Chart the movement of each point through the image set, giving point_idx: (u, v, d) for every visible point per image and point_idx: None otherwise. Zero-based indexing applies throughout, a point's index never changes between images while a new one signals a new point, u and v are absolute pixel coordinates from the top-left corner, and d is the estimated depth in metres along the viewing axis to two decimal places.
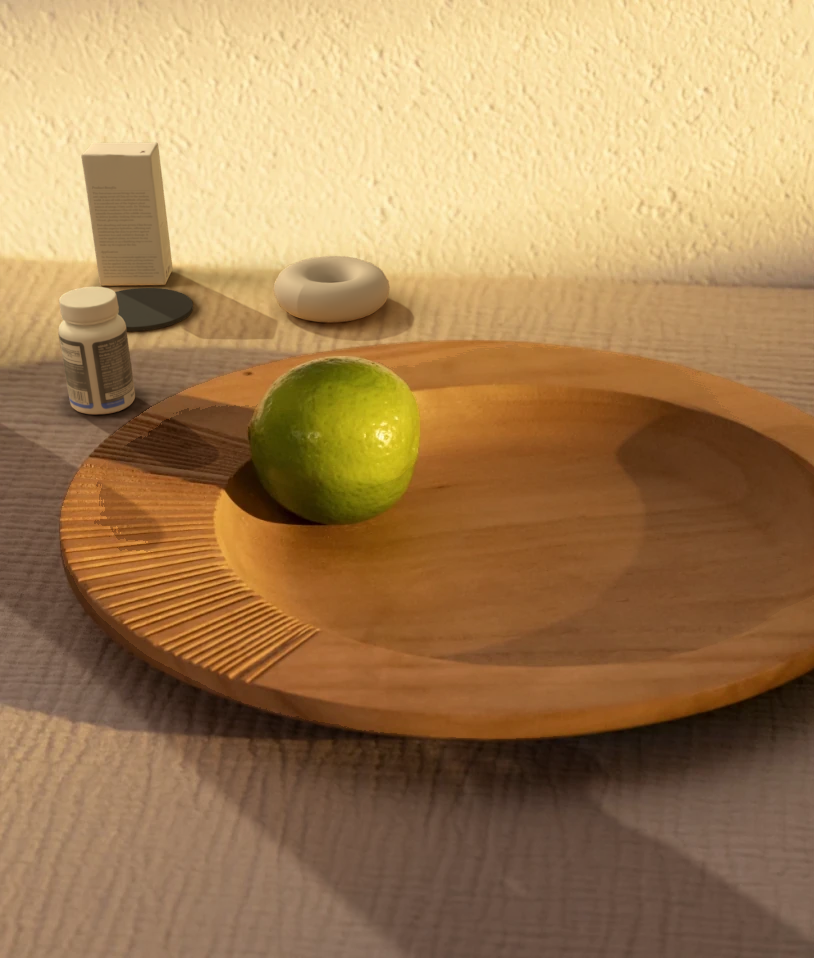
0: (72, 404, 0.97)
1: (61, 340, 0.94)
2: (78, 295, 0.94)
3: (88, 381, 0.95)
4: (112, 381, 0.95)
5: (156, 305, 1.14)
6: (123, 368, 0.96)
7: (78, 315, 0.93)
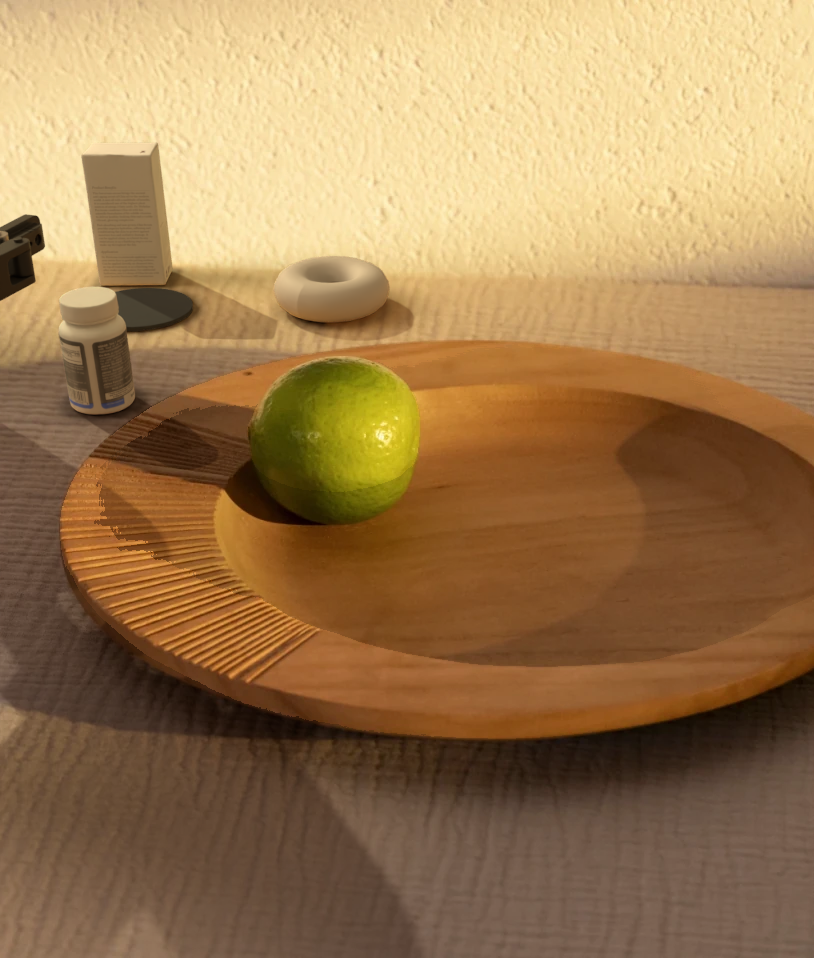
0: (72, 404, 0.97)
1: (61, 340, 0.94)
2: (78, 295, 0.94)
3: (88, 381, 0.95)
4: (112, 381, 0.95)
5: (156, 305, 1.14)
6: (123, 368, 0.96)
7: (78, 315, 0.93)
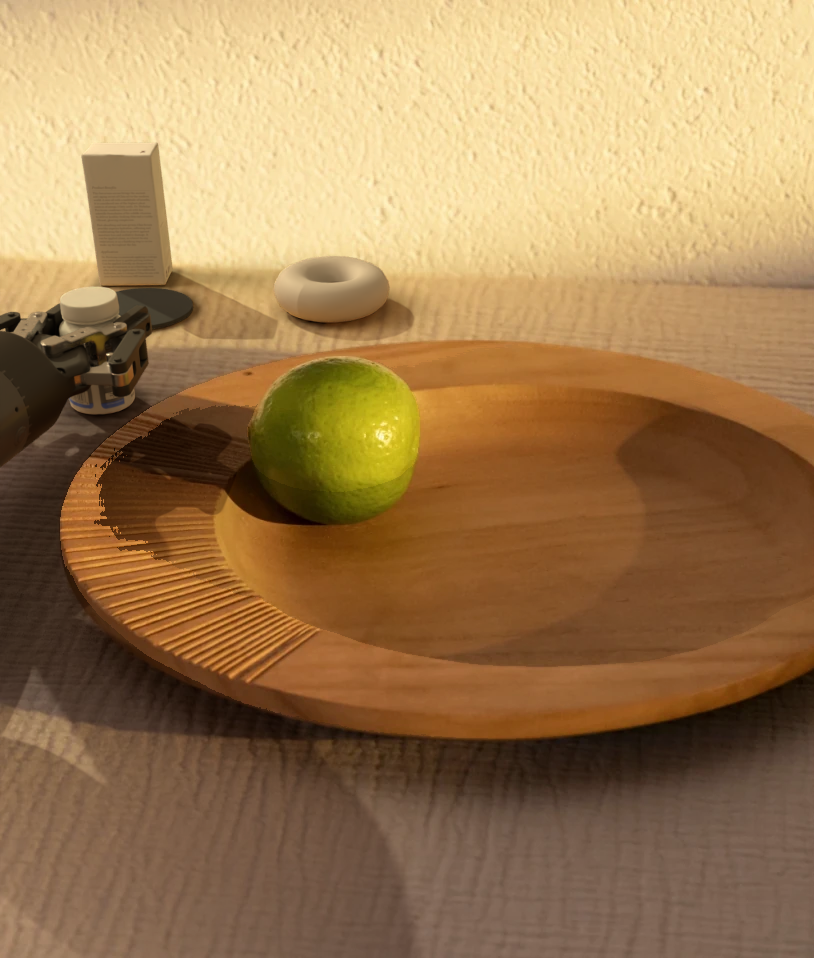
0: (72, 404, 0.97)
1: None
2: (78, 295, 0.94)
3: None
4: None
5: (156, 305, 1.14)
6: None
7: (78, 314, 0.93)
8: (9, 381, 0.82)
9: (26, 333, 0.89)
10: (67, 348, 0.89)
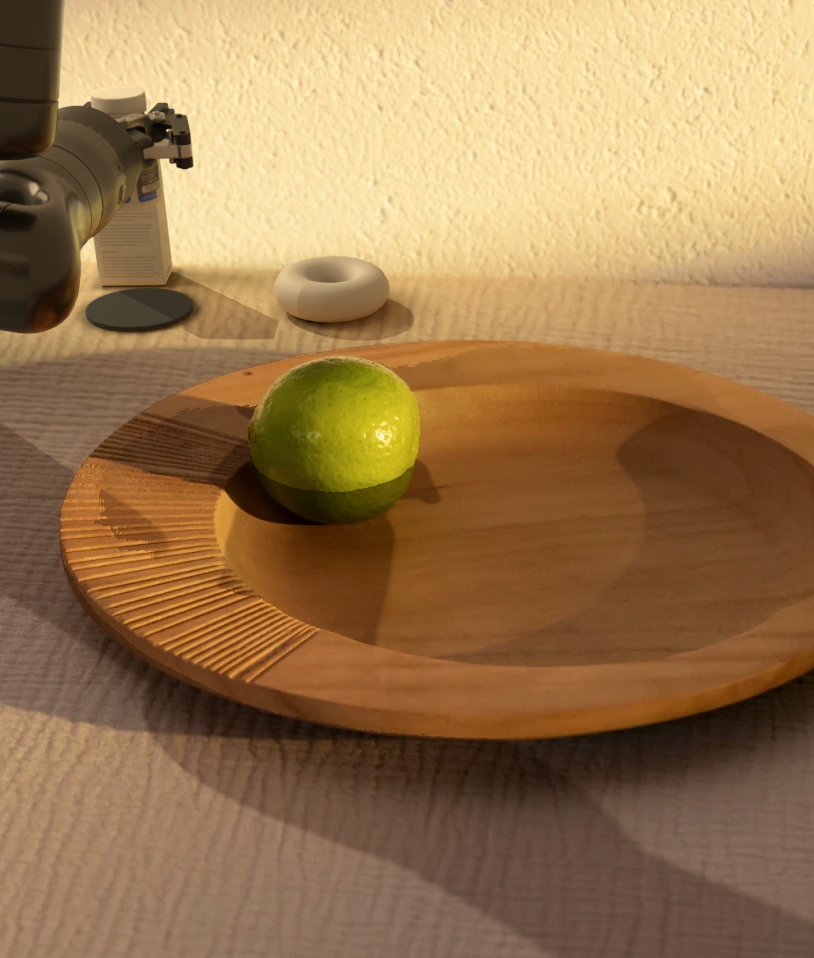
0: None
1: None
2: (107, 92, 0.99)
3: None
4: (147, 174, 1.00)
5: (156, 305, 1.14)
6: (155, 162, 1.01)
7: (116, 106, 0.97)
8: (107, 141, 0.86)
9: None
10: (126, 128, 0.93)
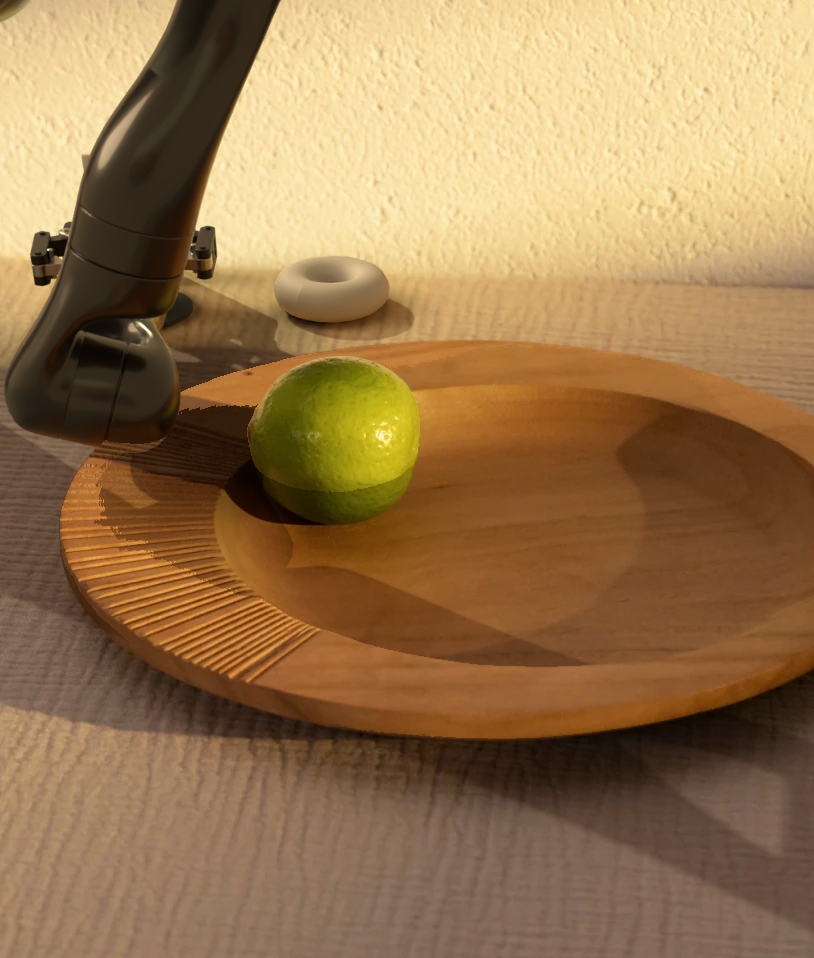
0: None
1: None
2: None
3: None
4: None
5: None
6: None
7: None
8: None
9: None
10: None
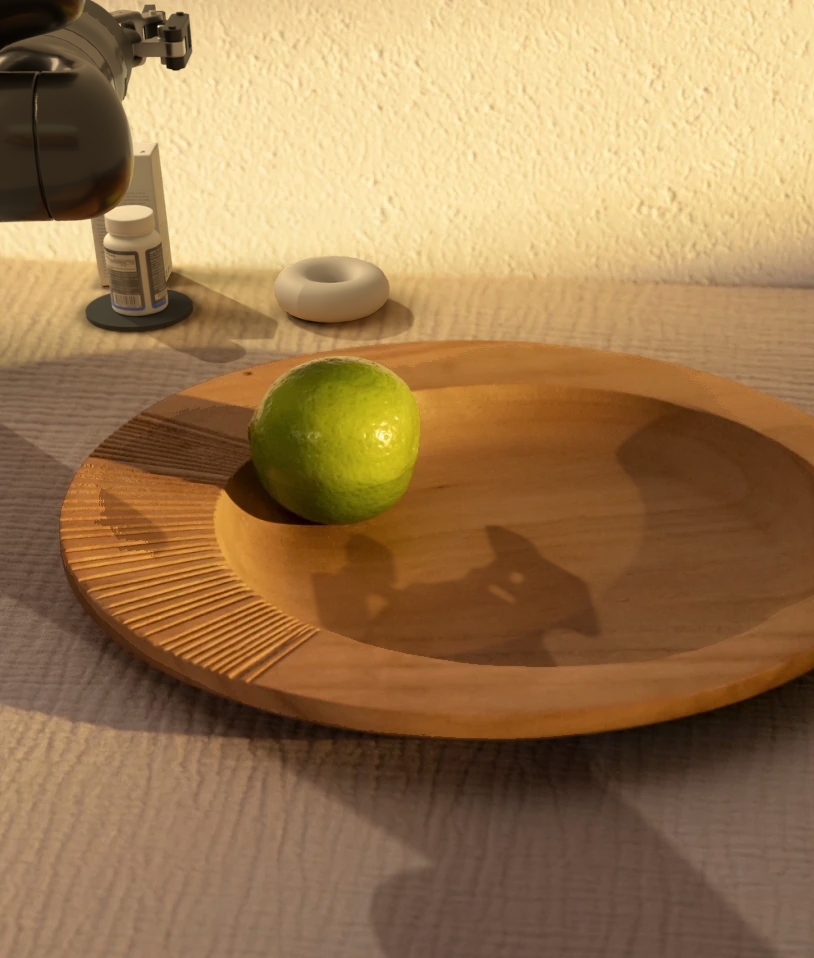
0: (122, 310, 1.11)
1: (113, 253, 1.09)
2: (119, 213, 1.09)
3: (141, 286, 1.10)
4: (159, 283, 1.11)
5: None
6: (164, 271, 1.12)
7: (131, 227, 1.08)
8: (106, 28, 0.77)
9: None
10: None
